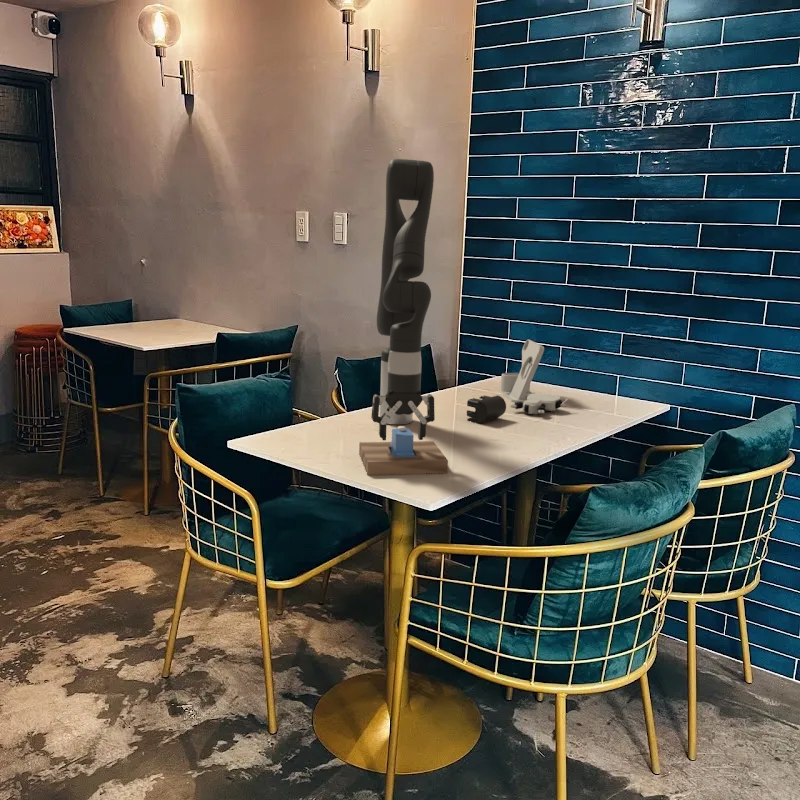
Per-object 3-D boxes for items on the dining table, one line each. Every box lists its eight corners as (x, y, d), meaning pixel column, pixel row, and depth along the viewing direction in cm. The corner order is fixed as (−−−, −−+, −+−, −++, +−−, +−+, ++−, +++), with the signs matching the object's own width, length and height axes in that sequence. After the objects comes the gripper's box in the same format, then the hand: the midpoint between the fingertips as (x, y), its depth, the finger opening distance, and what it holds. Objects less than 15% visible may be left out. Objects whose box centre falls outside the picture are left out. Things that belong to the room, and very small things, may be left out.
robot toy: (543, 422, 232) (568, 410, 243) (543, 407, 231) (568, 396, 242) (507, 415, 239) (533, 403, 250) (507, 400, 238) (533, 390, 249)
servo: (414, 469, 180) (415, 434, 178) (396, 470, 179) (397, 434, 178) (406, 457, 190) (407, 423, 188) (389, 457, 189) (390, 423, 187)
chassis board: (359, 454, 191) (359, 442, 190) (432, 453, 194) (433, 441, 193) (367, 475, 175) (367, 462, 175) (447, 473, 178) (447, 460, 178)
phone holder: (498, 391, 269) (501, 338, 265) (527, 391, 270) (531, 338, 267) (511, 402, 252) (515, 346, 248) (542, 402, 254) (546, 346, 250)
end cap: (486, 425, 222) (487, 402, 221) (465, 421, 227) (466, 397, 225) (505, 419, 230) (507, 396, 228) (485, 415, 234) (486, 393, 233)
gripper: (375, 373, 175) (373, 444, 179) (438, 373, 177) (435, 443, 181) (371, 367, 182) (369, 435, 186) (432, 367, 185) (429, 434, 188)
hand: (402, 439), depth 183 cm, fingers open, 8 cm apart
